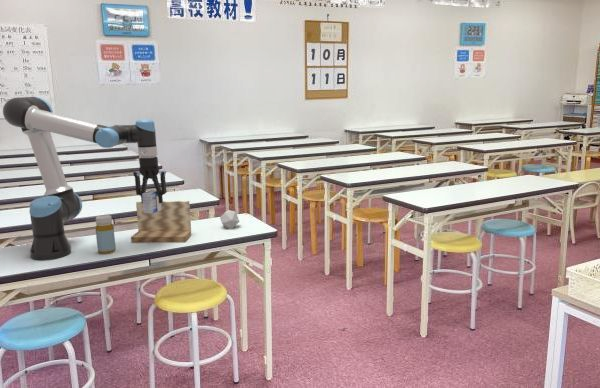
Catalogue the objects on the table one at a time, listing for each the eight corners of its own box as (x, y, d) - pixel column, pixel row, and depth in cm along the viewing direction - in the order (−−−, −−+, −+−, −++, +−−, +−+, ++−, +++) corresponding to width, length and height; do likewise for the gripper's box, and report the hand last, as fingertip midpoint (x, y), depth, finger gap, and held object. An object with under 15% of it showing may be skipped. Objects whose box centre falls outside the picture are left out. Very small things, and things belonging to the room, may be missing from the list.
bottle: (117, 248, 217) (113, 214, 214) (114, 253, 210) (110, 218, 207) (99, 249, 216) (96, 215, 213) (96, 254, 209) (92, 219, 206)
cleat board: (131, 242, 225) (128, 207, 221) (139, 235, 236) (137, 201, 233) (185, 242, 224) (183, 206, 221) (191, 234, 235) (189, 201, 232)
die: (225, 225, 253) (214, 212, 246) (240, 216, 252) (230, 203, 246) (228, 235, 246) (218, 222, 240) (244, 226, 246) (234, 212, 240)
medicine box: (152, 213, 214) (151, 193, 213) (143, 213, 215) (141, 193, 214) (162, 209, 222) (160, 189, 220) (152, 209, 223) (151, 189, 221)
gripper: (123, 158, 211) (129, 212, 216) (166, 157, 210) (170, 212, 214) (130, 156, 218) (135, 208, 223) (172, 155, 217) (176, 208, 222)
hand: (153, 210), depth 219 cm, fingers closed on medicine box, 5 cm apart
